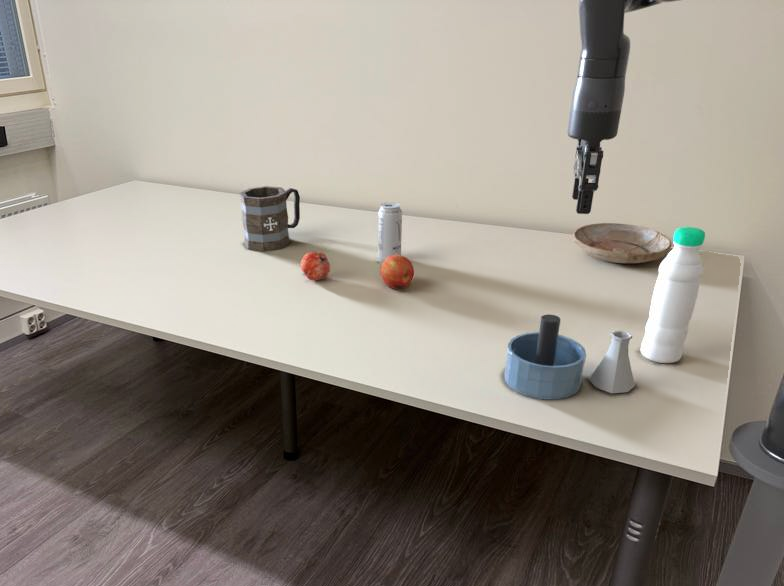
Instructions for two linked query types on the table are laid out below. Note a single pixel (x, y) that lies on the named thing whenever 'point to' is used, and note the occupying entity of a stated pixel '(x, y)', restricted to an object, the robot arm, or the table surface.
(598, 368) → the flask
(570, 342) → the processor bowl
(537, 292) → the table surface
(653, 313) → the water bottle
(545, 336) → the chopping blade
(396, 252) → the energy drink can
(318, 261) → the pomegranate
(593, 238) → the ceramic bowl
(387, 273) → the apple
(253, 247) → the mug
